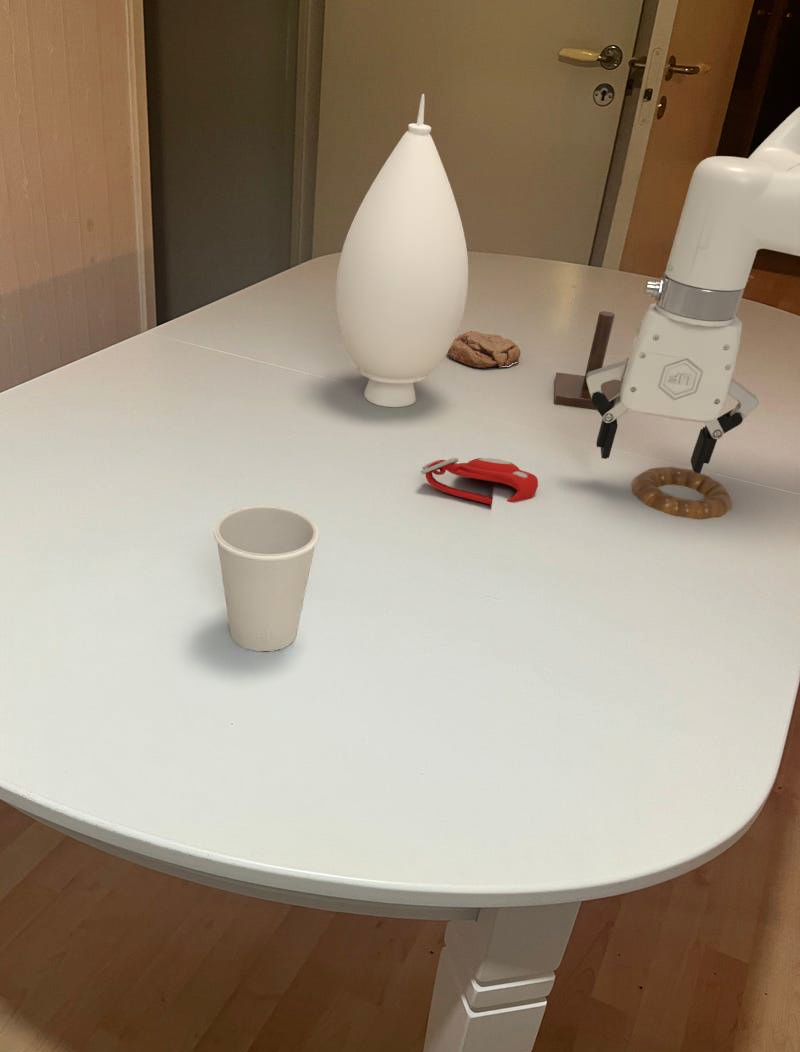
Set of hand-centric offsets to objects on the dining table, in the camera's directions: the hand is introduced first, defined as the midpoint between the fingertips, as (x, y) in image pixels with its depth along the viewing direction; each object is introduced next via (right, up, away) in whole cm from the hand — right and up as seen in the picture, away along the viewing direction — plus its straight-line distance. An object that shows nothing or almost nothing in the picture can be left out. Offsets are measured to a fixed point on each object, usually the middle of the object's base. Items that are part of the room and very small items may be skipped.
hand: (649, 460), depth 103 cm
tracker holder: (-18, -3, +3) cm, 19 cm away
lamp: (-26, +12, +23) cm, 37 cm away
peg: (+1, +14, +28) cm, 31 cm away
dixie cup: (-40, -19, -21) cm, 49 cm away
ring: (+4, -3, +2) cm, 5 cm away
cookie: (-12, +22, +38) cm, 45 cm away
